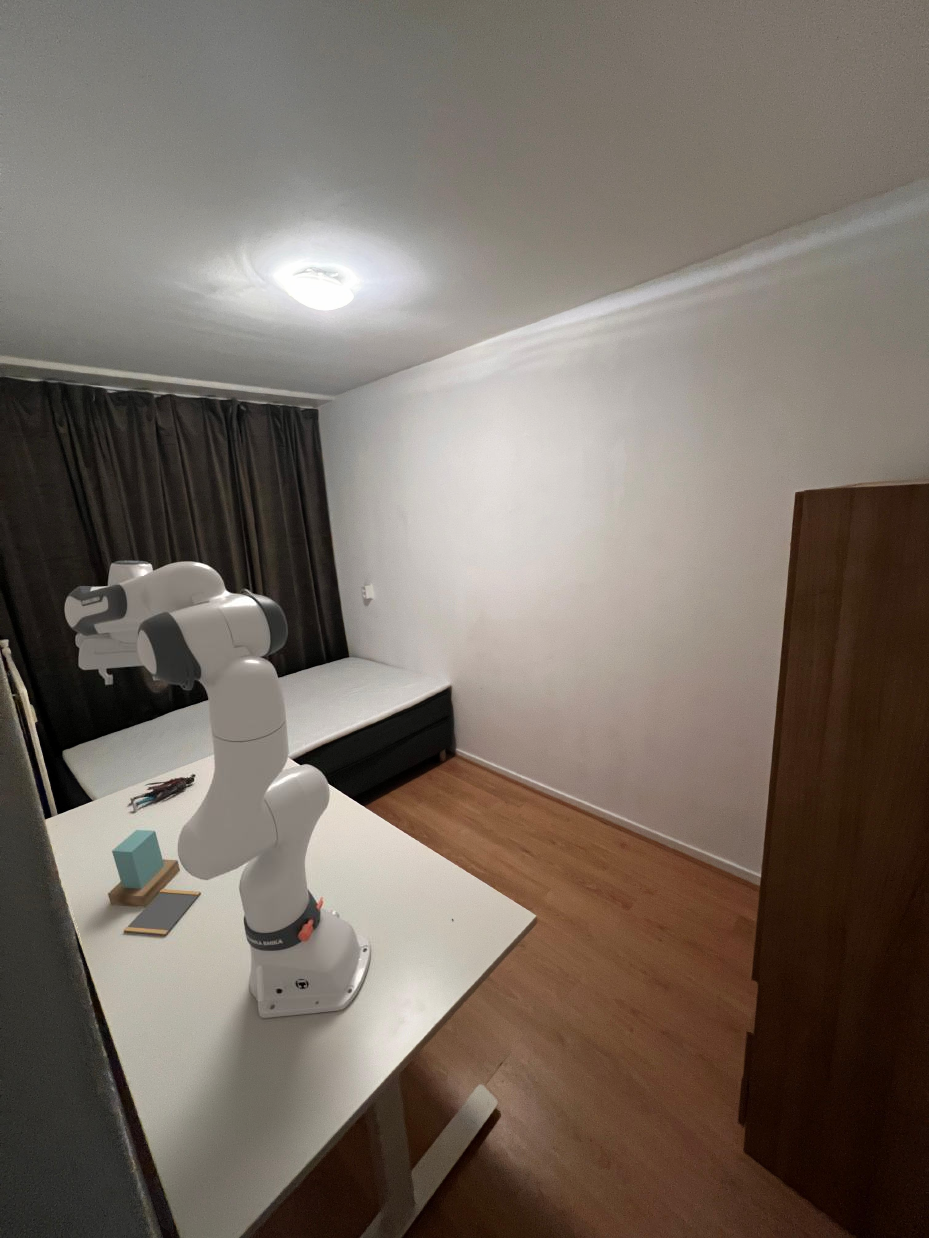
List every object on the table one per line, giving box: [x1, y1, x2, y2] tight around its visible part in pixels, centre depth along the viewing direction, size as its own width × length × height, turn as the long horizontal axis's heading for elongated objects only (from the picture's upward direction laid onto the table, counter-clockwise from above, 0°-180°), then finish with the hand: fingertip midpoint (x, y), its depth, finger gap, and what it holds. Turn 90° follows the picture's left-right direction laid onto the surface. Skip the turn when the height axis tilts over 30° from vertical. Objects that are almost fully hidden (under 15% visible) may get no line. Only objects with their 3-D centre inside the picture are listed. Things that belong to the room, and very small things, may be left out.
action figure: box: [129, 773, 196, 813], centre depth 151 cm, size 8×6×18 cm
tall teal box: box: [111, 829, 164, 889], centre depth 113 cm, size 5×7×10 cm
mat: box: [122, 888, 202, 937], centre depth 107 cm, size 10×11×1 cm
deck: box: [107, 858, 181, 908], centre depth 114 cm, size 9×11×3 cm
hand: (133, 681), depth 116 cm, fingers open, 8 cm apart
